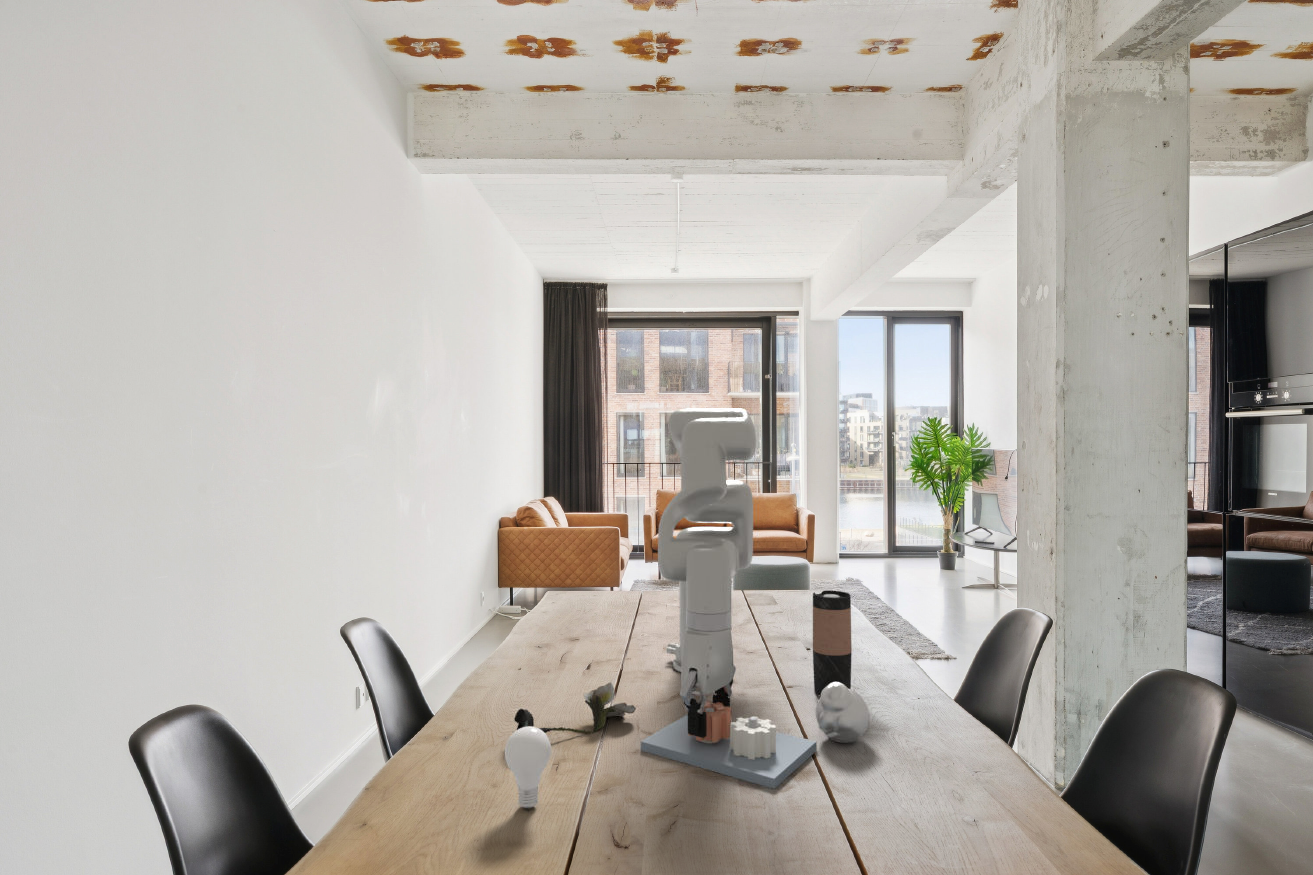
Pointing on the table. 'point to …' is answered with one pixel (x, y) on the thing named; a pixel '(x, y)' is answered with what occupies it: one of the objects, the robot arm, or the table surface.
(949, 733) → the table surface
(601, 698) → the artificial flower
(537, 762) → the lightbulb
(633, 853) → the table surface
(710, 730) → the terracotta gear
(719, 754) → the gear board
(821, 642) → the travel mug
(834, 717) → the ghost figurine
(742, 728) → the cream gear
